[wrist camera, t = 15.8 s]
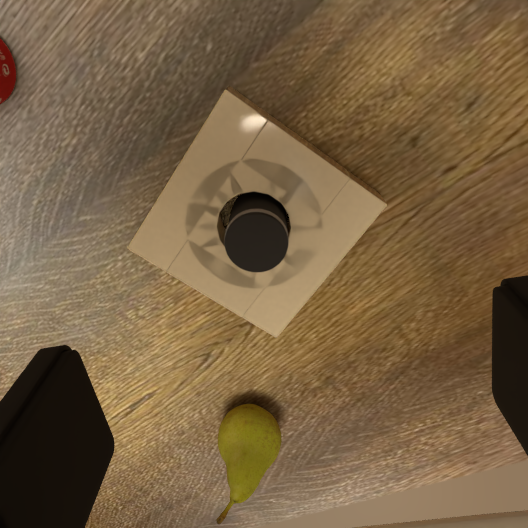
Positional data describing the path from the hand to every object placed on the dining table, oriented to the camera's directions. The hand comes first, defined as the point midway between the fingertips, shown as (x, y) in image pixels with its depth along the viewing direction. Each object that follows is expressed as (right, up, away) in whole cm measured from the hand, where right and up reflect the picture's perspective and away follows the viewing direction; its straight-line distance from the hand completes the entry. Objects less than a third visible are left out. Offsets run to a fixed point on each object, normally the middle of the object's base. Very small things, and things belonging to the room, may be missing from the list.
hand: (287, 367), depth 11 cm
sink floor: (-1, +6, +28) cm, 29 cm away
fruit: (-2, -12, +37) cm, 39 cm away
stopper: (-1, +6, +28) cm, 29 cm away
